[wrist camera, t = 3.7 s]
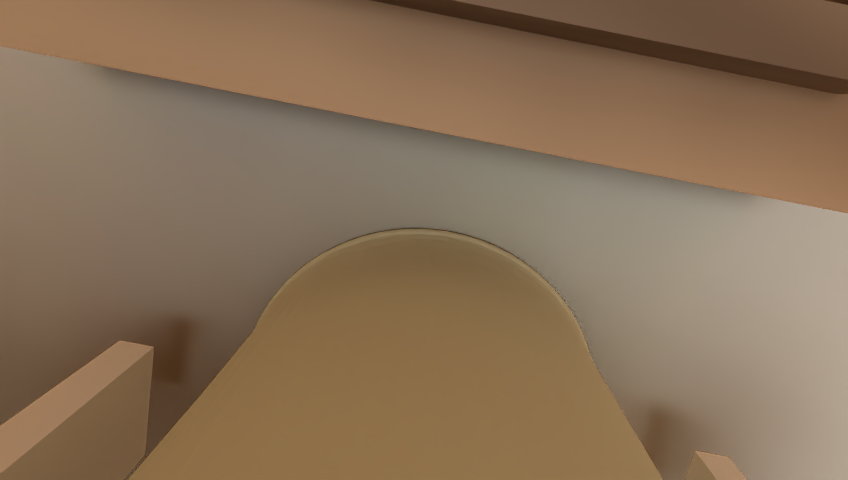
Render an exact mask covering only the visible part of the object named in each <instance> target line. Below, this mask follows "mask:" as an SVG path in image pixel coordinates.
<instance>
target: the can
mask: <svg viewBox="0 0 848 480" xmlns="http://www.w3.org/2000/svg"><path fill="white" fill-rule="evenodd" d="M128 480H663V479H662V477H661V475H660V473H659V472H658V470H657V468H656V467H655V465H654V463H653V462H652V460H651V458H650V457H649V455H648V453H647V452H646V450H645V448H644V447H643V445H642V443H641V442H640V440H639V438H638V437H637V435H636V433H635V432H634V430H633V428H632V427H631V425H630V423H629V422H628V420H627V418H626V416H625V415H624V413H623V411H622V410H621V408H620V406H619V405H618V403H617V401H616V400H615V398H614V396H613V395H612V393H611V391H610V390H609V388H608V386H607V385H606V383H605V381H604V380H603V378H602V376H601V375H600V373H599V371H598V369H597V368H596V366H595V364H594V362H593V360H592V358H591V356H590V352H589V349H588V346H587V343H586V340H585V338H584V335H583V333H582V330H581V328H580V326H579V325H578V323H577V321H576V319H575V317H574V315H573V313H572V312H571V310H570V309H569V308H568V306H567V305H566V303H565V302H564V300H563V299H562V298H561V296H560V295H559V294H558V293H557V292H556V291H555V290H554V288H553V287H552V286H551V285H550V284H549V283H548V282H547V281H546V280H545V279H544V278H543V277H542V276H541V275H540V274H539V273H537V272H536V271H535V270H533V269H532V268H531V267H529V266H528V265H527V264H526V263H524V262H523V261H521V260H520V259H518V258H517V257H515V256H514V255H512V254H510V253H508V252H506V251H504V250H503V249H501V248H499V247H497V246H495V245H492V244H490V243H487V242H485V241H482V240H479V239H476V238H473V237H470V236H467V235H464V234H459V233H454V232H449V231H443V230H434V229H397V230H390V231H383V232H377V233H373V234H369V235H365V236H361V237H359V238H356V239H353V240H350V241H347V242H344V243H342V244H340V245H338V246H336V247H334V248H332V249H330V250H328V251H326V252H324V253H322V254H321V255H319V256H318V257H316V258H314V259H313V260H311V261H310V262H308V263H307V264H306V265H304V266H303V267H302V268H301V269H299V270H298V271H297V272H296V273H295V274H294V275H292V276H291V277H290V278H289V279H288V280H287V281H286V282H285V283H284V284H283V286H282V287H281V288H280V289H279V290H278V292H277V293H276V294H275V295H274V297H273V298H272V299H271V301H270V302H269V304H268V305H267V307H266V308H265V310H264V312H263V313H262V315H261V316H260V318H259V320H258V322H257V325H256V327H255V329H254V331H253V332H252V333H251V334H250V336H249V337H248V338H247V339H246V341H245V342H244V343H243V344H242V346H241V347H240V348H239V349H238V350H237V352H236V353H235V354H234V355H233V357H232V358H231V359H230V360H229V361H228V363H227V364H226V365H225V366H224V367H223V369H222V370H221V371H220V372H219V373H218V375H217V376H216V377H215V378H214V379H213V381H212V382H211V383H210V384H209V385H208V387H207V388H206V389H205V390H204V392H203V393H202V394H201V395H200V396H199V397H198V399H197V400H196V401H195V402H194V403H193V404H192V406H191V407H190V408H189V409H188V410H187V411H186V413H185V414H184V415H183V416H182V417H181V418H180V420H179V421H178V422H177V423H176V424H175V425H174V426H173V428H172V429H171V430H170V431H169V432H168V433H167V435H166V436H165V437H164V438H163V439H162V440H161V442H160V443H159V444H158V445H157V446H156V447H155V449H154V450H153V451H152V452H151V453H150V454H149V455H148V457H147V458H146V459H145V460H144V461H143V462H142V464H141V465H140V466H139V467H138V468H137V469H136V471H135V472H134V473H133V474H132V475H131V476H130V477H129V479H128Z"/></svg>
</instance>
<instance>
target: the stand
mask: <svg viewBox="0 0 848 480" xmlns="http://www.w3.org/2000/svg"><path fill="white" fill-rule="evenodd" d="M0 46H4V47H9V48H14V49H19V50H24V51H29V52H34V53H39V54H44V55H49V56H54V57H60V58H65V59H70V60H75V61H80V62H85V63H90V64H95V65H100V66H105V67H110V68H115V69H120V70H125V71H130V72H135V73H140V74H145V75H151V76H156V77H161V78H166V79H171V80H176V81H181V82H186V83H191V84H196V85H201V86H206V87H211V88H216V89H221V90H226V91H231V92H237V93H242V94H247V95H252V96H257V97H262V98H267V99H272V100H277V101H282V102H287V103H292V104H297V105H302V106H307V107H312V108H317V109H323V110H328V111H333V112H338V113H343V114H348V115H353V116H358V117H363V118H368V119H373V120H378V121H383V122H388V123H393V124H398V125H403V126H409V127H414V128H419V129H424V130H429V131H434V132H439V133H444V134H449V135H454V136H459V137H464V138H469V139H474V140H479V141H484V142H489V143H495V144H500V145H505V146H510V147H515V148H520V149H525V150H530V151H535V152H540V153H545V154H550V155H555V156H560V157H565V158H570V159H575V160H581V161H586V162H591V163H596V164H601V165H606V166H611V167H616V168H621V169H626V170H631V171H636V172H641V173H646V174H651V175H656V176H661V177H667V178H672V179H677V180H682V181H687V182H692V183H697V184H702V185H707V186H712V187H717V188H722V189H727V190H732V191H737V192H742V193H747V194H753V195H758V196H763V197H768V198H773V199H778V200H783V201H788V202H793V203H798V204H803V205H808V206H813V207H818V208H823V209H828V210H833V211H838V212H844V213H848V0H0Z"/></svg>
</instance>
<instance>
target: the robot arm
mask: <svg viewBox="0 0 848 480" xmlns="http://www.w3.org/2000/svg"><path fill="white" fill-rule="evenodd" d="M153 356H154V347H153V346H147V345H142V344H137V343H132V342H126V341H121V340H120V341H118V342H117V343H115V344H114V345H113V346H111V347H110V348H108V349H107V350H106V351H104V352H103V353H101V354H100V355H99V356H97V357H96V358H94V359H93V360H92V361H90V362H89V363H87V364H86V365H85V366H83V367H82V368H80V369H79V370H78V371H76V372H75V373H73V374H72V375H71V376H69V377H68V378H66V379H65V380H64V381H62V382H61V383H59V384H58V385H57V386H55V387H54V388H52V389H51V390H50V391H48V392H47V393H45V394H44V395H43V396H41V397H40V398H38V399H37V400H36V401H34V402H33V403H31V404H30V405H29V406H27V407H26V408H24V409H23V410H22V411H20V412H19V413H17V414H16V415H15V416H13V417H12V418H10V419H9V420H8V421H6V422H5V423H3V424H2V425H1V426H0V480H124V479H125V478H126V477H127V476H128V474H129V473H130V472H131V471H132V470H133V469H134V467H135V466H136V465H137V464H138V463H139V462H140V460H141V459H142V458H143V457H144V456H145V450H146V438H147V426H148V415H149V403H150V391H151V379H152V368H153ZM685 480H747V479H746V478H745V476H744V475H743V474H742V473H741V471H740V470H739V469H738V468H737V467H736V465H735V464H734V463H733V462H732V461H731V459H730V458H729V457H726V456H721V455H716V454H711V453H706V452H700V451H695V452H694V455H693V458H692V461H691V463H690V466H689V469H688V472H687V475H686V478H685Z"/></svg>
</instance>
